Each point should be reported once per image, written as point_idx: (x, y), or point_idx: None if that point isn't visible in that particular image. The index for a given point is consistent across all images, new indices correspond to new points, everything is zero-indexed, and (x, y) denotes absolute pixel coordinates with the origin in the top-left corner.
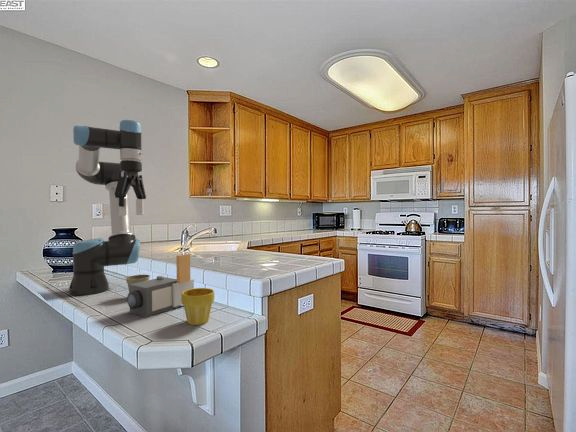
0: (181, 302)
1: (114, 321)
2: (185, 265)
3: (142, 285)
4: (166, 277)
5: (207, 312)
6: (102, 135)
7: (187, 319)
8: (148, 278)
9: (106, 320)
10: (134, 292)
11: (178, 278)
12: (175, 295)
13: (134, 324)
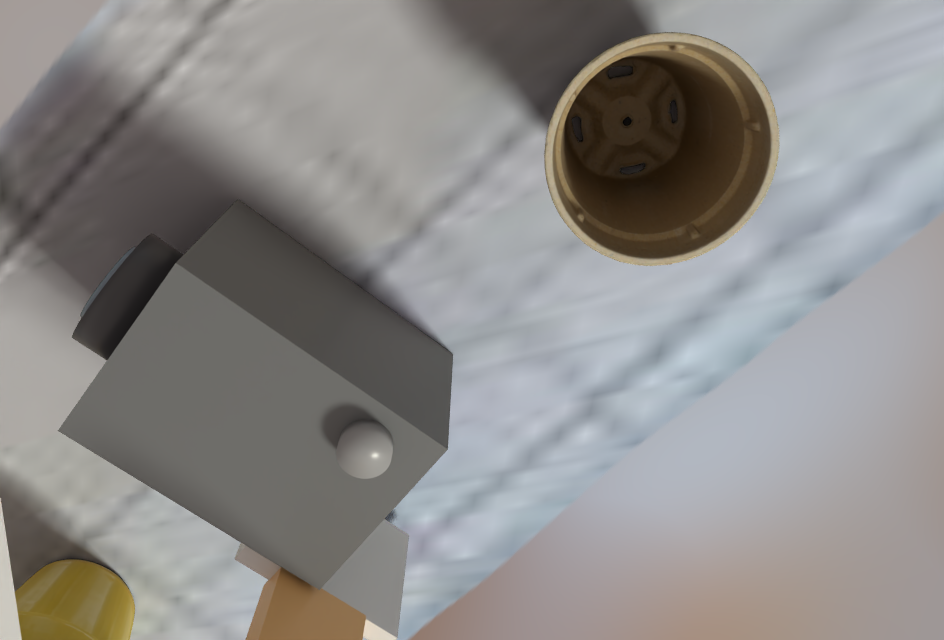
0: None
1: (65, 170)
2: None
3: (136, 379)
4: (421, 475)
5: None
6: None
7: (30, 578)
8: (642, 251)
9: (81, 109)
10: (84, 327)
11: (262, 602)
12: None
13: (22, 308)
